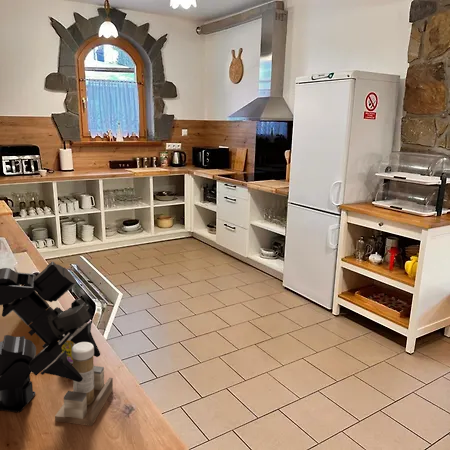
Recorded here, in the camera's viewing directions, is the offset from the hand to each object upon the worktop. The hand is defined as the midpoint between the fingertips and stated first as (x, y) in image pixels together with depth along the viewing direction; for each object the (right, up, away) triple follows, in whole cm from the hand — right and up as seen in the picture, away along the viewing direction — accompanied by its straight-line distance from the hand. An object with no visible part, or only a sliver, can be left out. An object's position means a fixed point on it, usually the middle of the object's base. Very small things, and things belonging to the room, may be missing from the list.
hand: (90, 367), depth 92 cm
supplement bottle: (-11, -4, +19) cm, 22 cm away
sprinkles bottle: (-2, -8, +2) cm, 9 cm away
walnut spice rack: (-2, -9, +3) cm, 10 cm away
